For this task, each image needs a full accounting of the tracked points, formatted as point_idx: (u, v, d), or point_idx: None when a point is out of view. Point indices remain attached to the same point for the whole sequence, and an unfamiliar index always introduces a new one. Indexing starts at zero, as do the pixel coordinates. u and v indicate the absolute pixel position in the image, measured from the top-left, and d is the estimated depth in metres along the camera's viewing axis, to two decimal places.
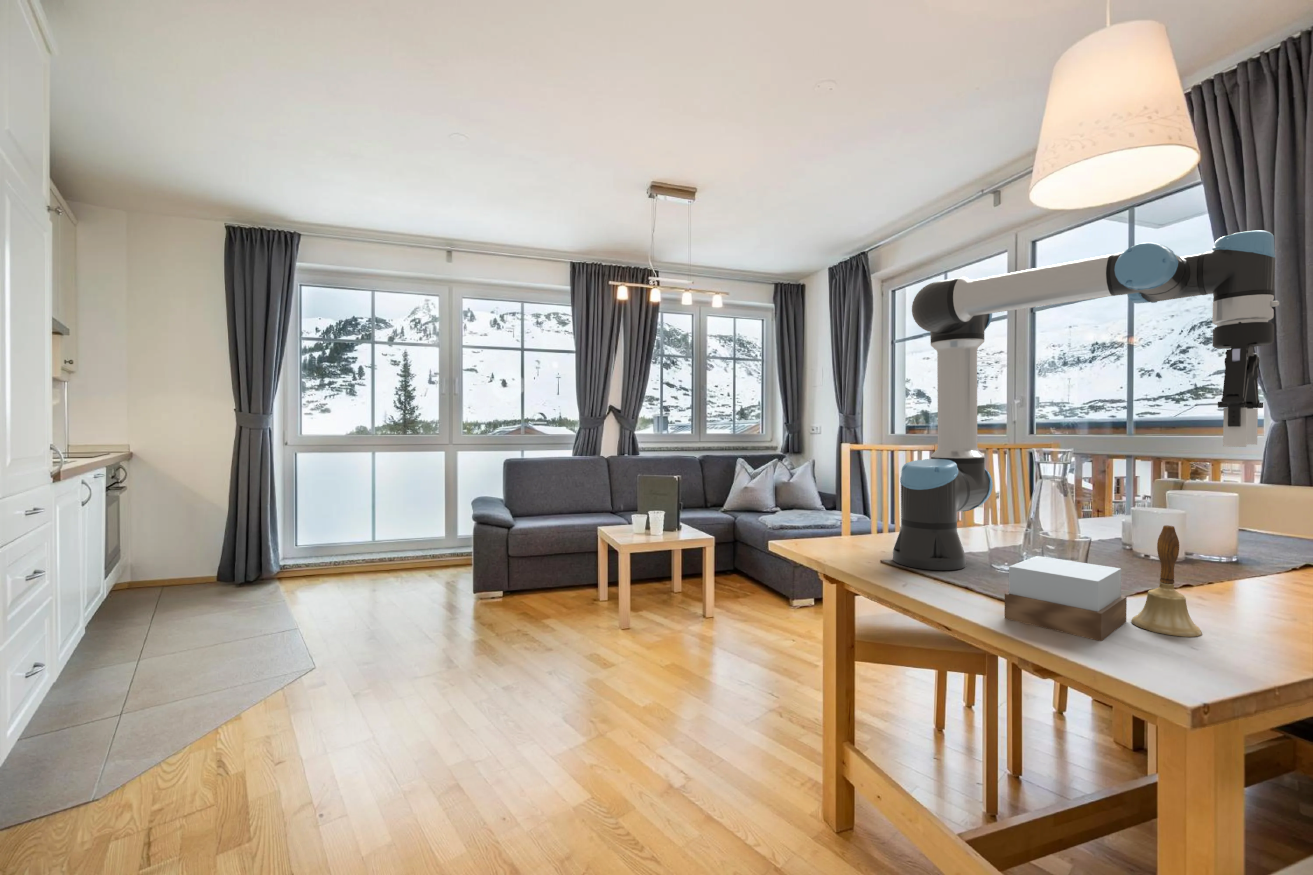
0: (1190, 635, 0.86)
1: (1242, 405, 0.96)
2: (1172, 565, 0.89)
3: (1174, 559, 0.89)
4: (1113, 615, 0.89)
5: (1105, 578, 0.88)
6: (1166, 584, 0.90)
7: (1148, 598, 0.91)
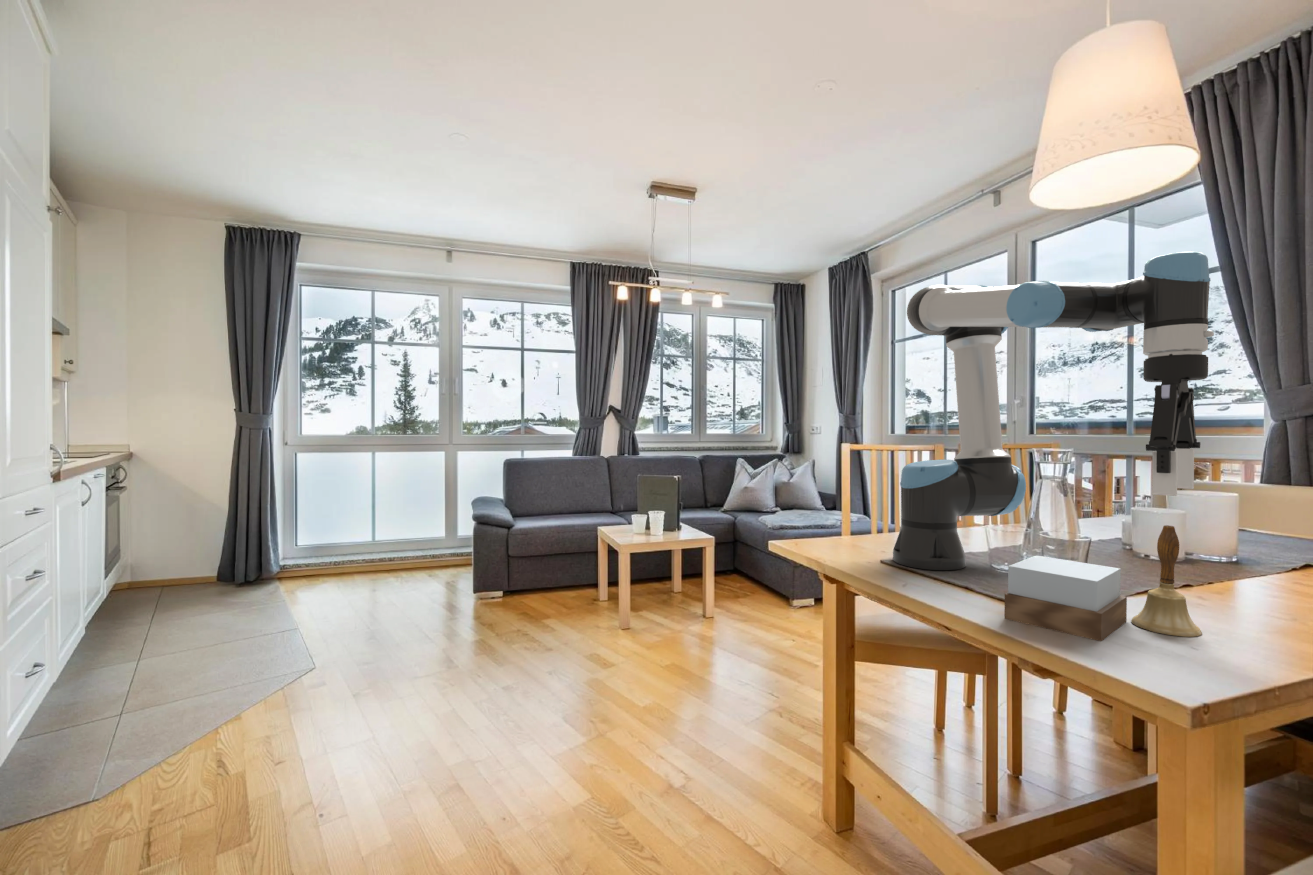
0: (1190, 635, 0.86)
1: (1171, 449, 0.85)
2: (1172, 565, 0.89)
3: (1174, 559, 0.89)
4: (1113, 615, 0.89)
5: (1104, 578, 0.88)
6: (1166, 584, 0.90)
7: (1148, 598, 0.91)
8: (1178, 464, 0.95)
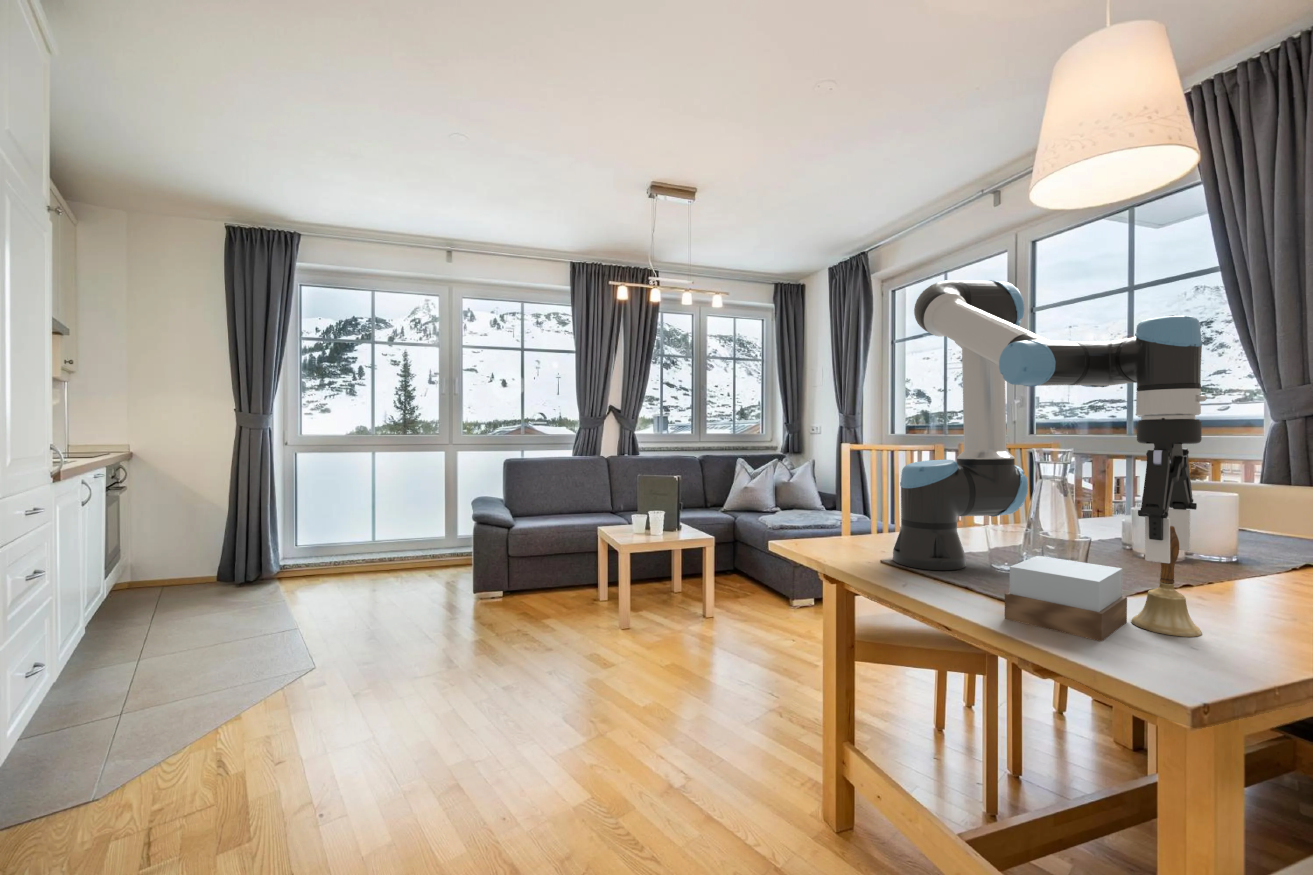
0: (1190, 635, 0.86)
1: (1164, 516, 0.84)
2: (1172, 565, 0.89)
3: (1174, 559, 0.89)
4: (1113, 615, 0.89)
5: (1106, 578, 0.88)
6: (1166, 584, 0.90)
7: (1148, 598, 0.91)
8: (1174, 525, 0.94)
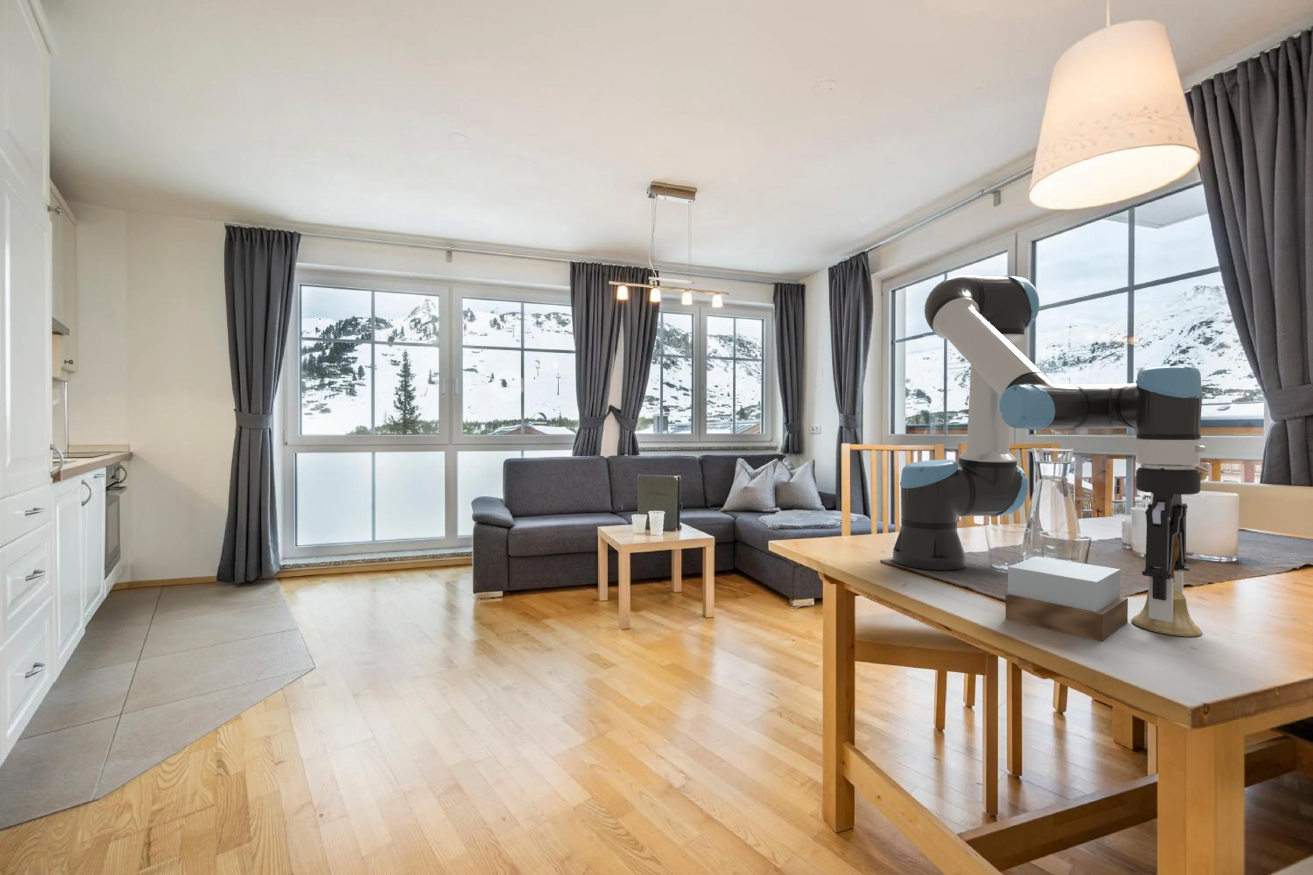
0: (1190, 635, 0.86)
1: (1167, 578, 0.87)
2: (1172, 565, 0.89)
3: (1174, 559, 0.89)
4: (1114, 616, 0.88)
5: (1104, 579, 0.88)
6: None
7: (1148, 598, 0.91)
8: None
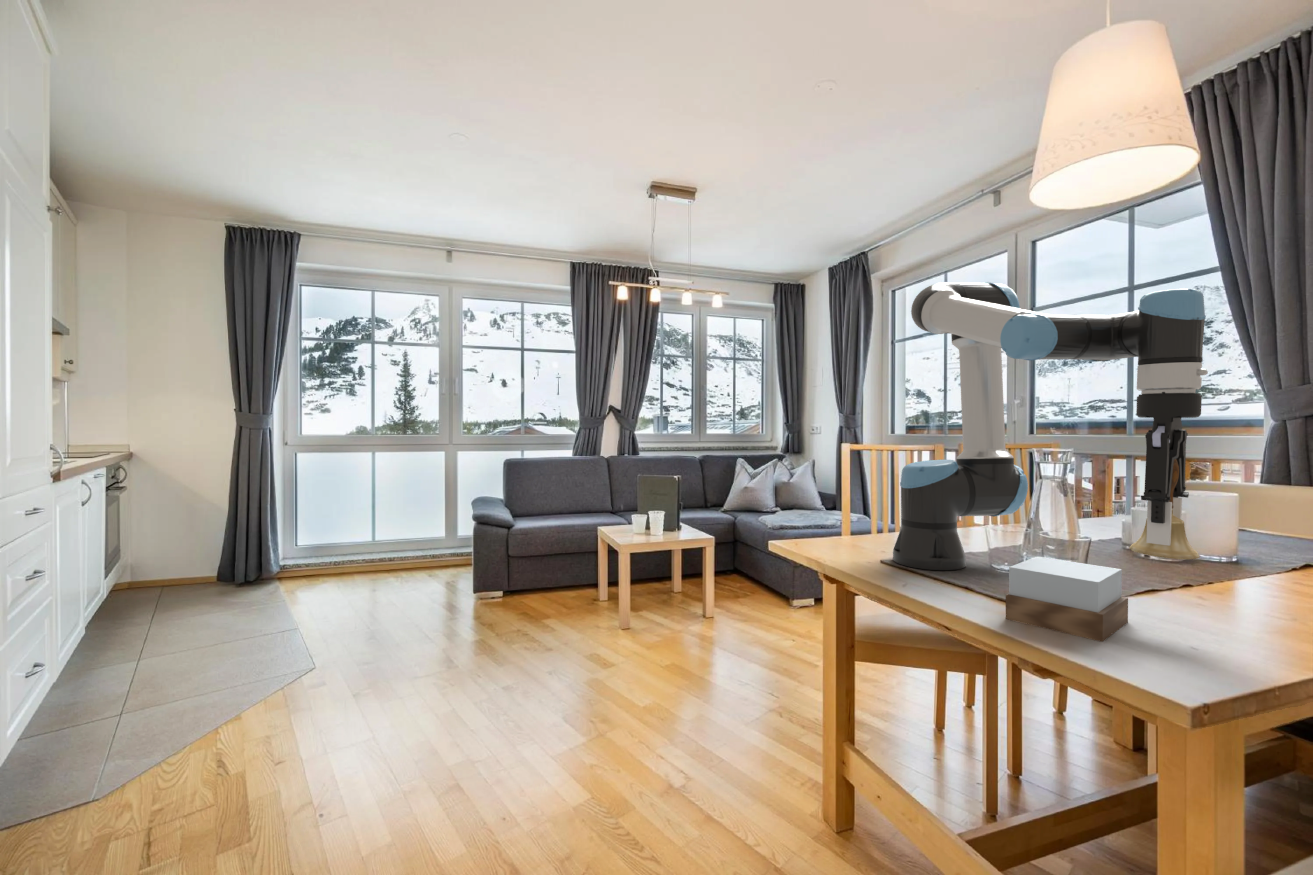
0: (1188, 557, 0.87)
1: (1166, 501, 0.87)
2: (1171, 490, 0.89)
3: (1173, 484, 0.89)
4: (1114, 616, 0.88)
5: (1105, 579, 0.88)
6: None
7: (1146, 524, 0.91)
8: None
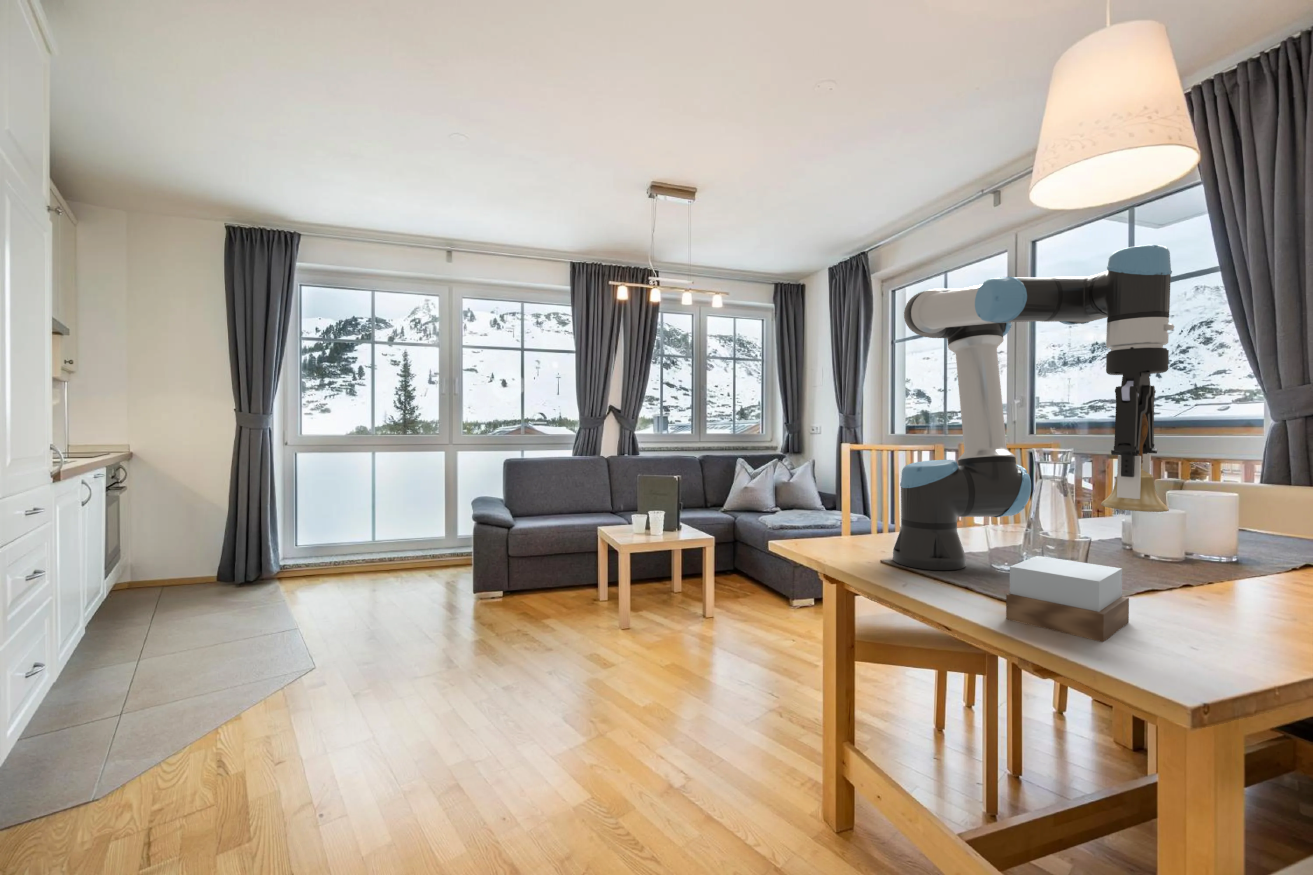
0: (1158, 510, 0.87)
1: (1135, 455, 0.88)
2: (1141, 445, 0.90)
3: (1143, 438, 0.90)
4: (1115, 616, 0.88)
5: (1106, 578, 0.88)
6: None
7: None
8: None
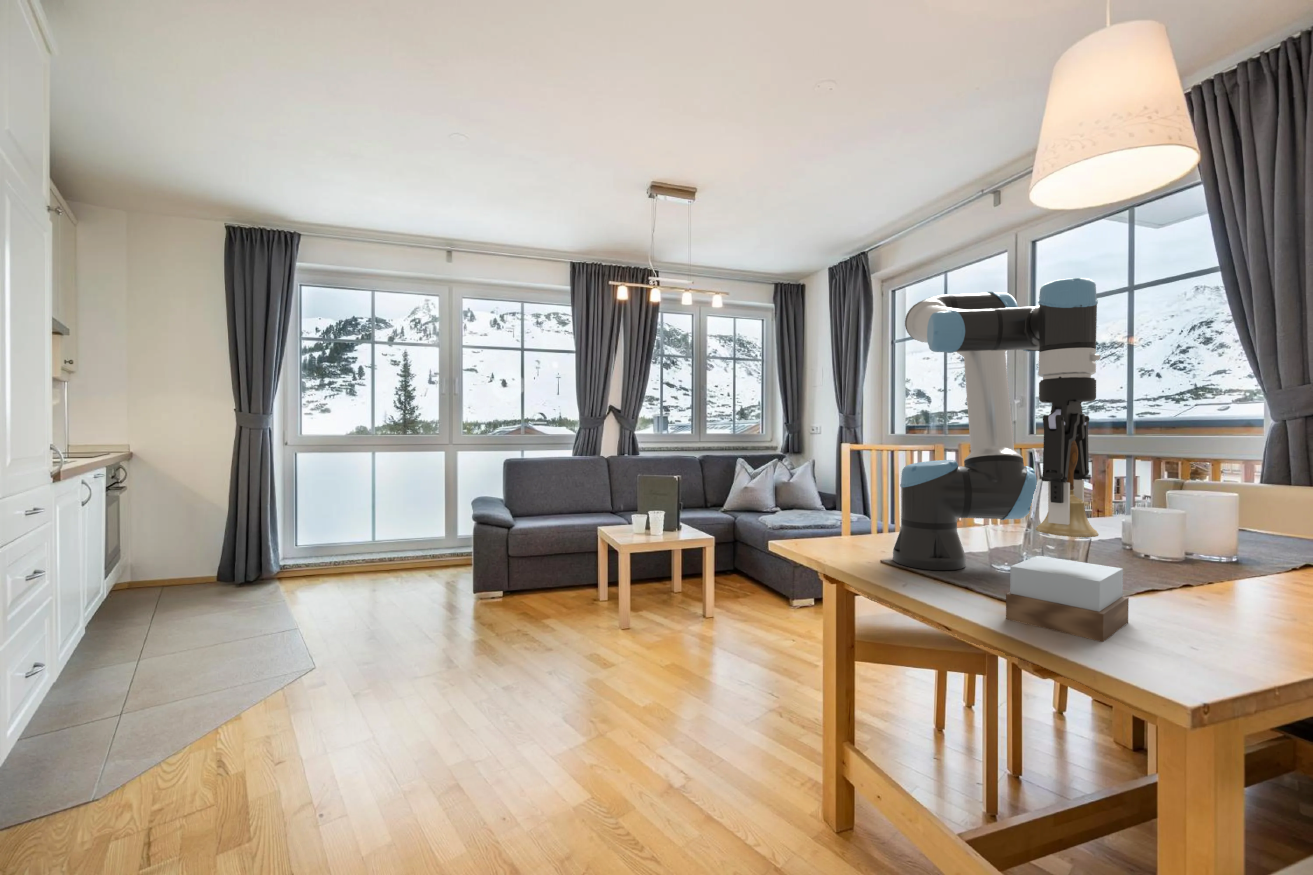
0: (1086, 535, 0.89)
1: (1063, 481, 0.90)
2: (1071, 471, 0.92)
3: (1073, 465, 0.92)
4: (1115, 616, 0.88)
5: (1107, 578, 0.88)
6: None
7: None
8: None
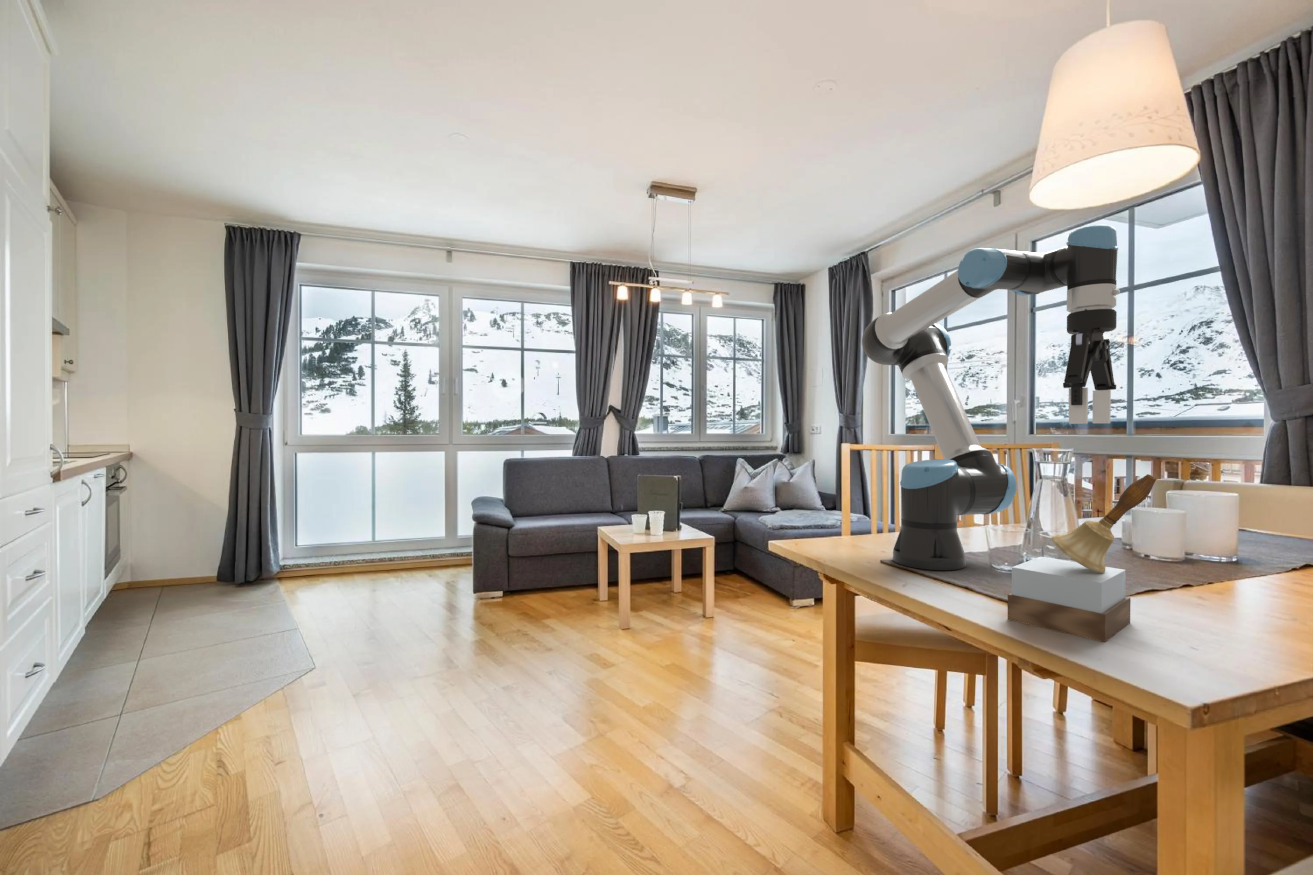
0: None
1: (1082, 385, 1.04)
2: None
3: (1134, 506, 0.88)
4: (1117, 616, 0.88)
5: (1109, 579, 0.87)
6: (1111, 524, 0.89)
7: (1088, 533, 0.90)
8: (1098, 403, 1.14)
